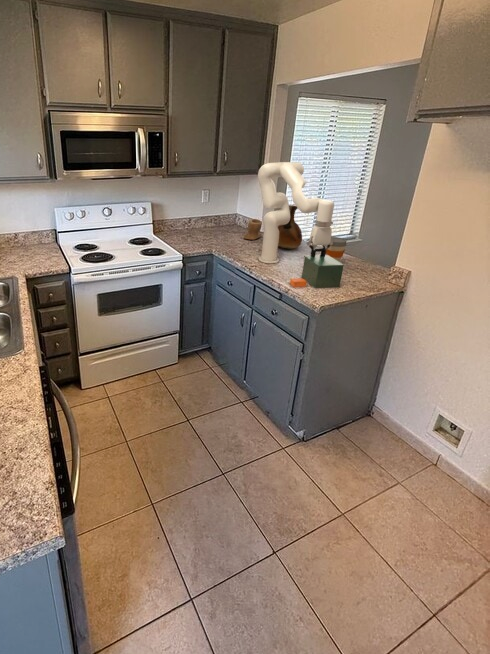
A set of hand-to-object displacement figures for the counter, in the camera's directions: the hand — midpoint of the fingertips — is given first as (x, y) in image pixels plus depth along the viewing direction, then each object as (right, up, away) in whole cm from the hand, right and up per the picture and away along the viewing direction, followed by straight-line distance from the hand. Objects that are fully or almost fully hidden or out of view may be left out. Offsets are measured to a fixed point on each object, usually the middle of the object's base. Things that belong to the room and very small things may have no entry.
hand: (317, 256), depth 196 cm
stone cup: (-16, +17, +79) cm, 82 cm away
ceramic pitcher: (+2, +9, +58) cm, 59 cm away
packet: (-13, -16, -5) cm, 21 cm away
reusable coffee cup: (+21, -3, +28) cm, 35 cm away
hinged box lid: (+1, -3, -5) cm, 6 cm away
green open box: (+1, -14, -1) cm, 14 cm away
